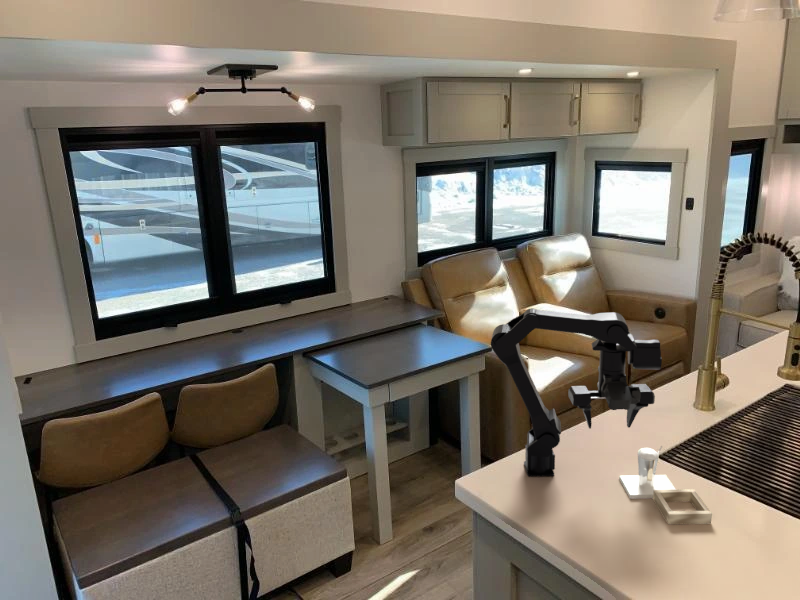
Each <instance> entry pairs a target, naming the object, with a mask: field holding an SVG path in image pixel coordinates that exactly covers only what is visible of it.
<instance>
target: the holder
mask: <svg viewBox="0 0 800 600" xmlns="http://www.w3.org/2000/svg"><path fill="white" fill-rule="evenodd" d="M652 501H653V502H654V504H655V505H656V507H657V508H658V510H659V512H660V513H661V515H662V517H663V518H664V520H665V522H666V523H667V524H668V525H699V524H701V525H703V524H704V525H705V524H706V525H707V524H708V525H709V524H711V525H712V516H713V513H712V512H711V510H710V508H708V506H707V505H706V504H705V502H704V501H703V500H702V498H701V497H700V495H699V494H698V493H697V491H696V490H695V489H694V488H691V489H689V488H688V489H685V488H684V489H683V488H681V489H679V488H678V489H676V490H654V492H653V498H652ZM677 502H679V503H682V502H690V503H691V504H692V506H693V507H694V509H695V510H683V511H682V510H676V511H674V510H672V509H671V508H670V506H669V504H668V503H677Z"/></svg>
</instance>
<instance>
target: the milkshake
mask: <svg viewBox="0 0 800 600" xmlns="http://www.w3.org/2000/svg"><path fill="white" fill-rule="evenodd" d="M662 448H663V445H661V446H660V448H659V449H658V451H656V450H655V449H653V448H651V447H641V448H640V449H639V450H638V451H637V464H638V465H637V466H638V475H639V485H640V486H641V487H644V488H651V487H653V485H654V479H655V475H656V473H657V472H656V471H657V467H658V463H659V462H658V461H659V457H660V455H659V453H660V451H661V450H662Z"/></svg>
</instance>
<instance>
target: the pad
mask: <svg viewBox="0 0 800 600" xmlns="http://www.w3.org/2000/svg"><path fill="white" fill-rule="evenodd" d="M618 478H619V479H618V480H619V481H620V483H621V485H622V487H623V489H624V490H625V492H626V494H627V495H628V498H629V499H632V500H635V499H636V500H637V499H640V500H641V499H653V492H654V490H677V488H676V487H675V486H674V484H673V483H672V481H671V480H670V479H669V477H668V476H667V474H655V479H654V485H653V487H651V488H644V487H641V486H640V485H639V474H633V475H631V474H630V475H629V474H628V475H619V477H618Z"/></svg>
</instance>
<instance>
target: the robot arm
mask: <svg viewBox="0 0 800 600" xmlns="http://www.w3.org/2000/svg"><path fill="white" fill-rule="evenodd" d="M535 329H537V330H545V331H554V332H561V333H572V334H577V335H579V334H580V335H586V336H588V337H589V336H590V337H592V338H594V339H596V340H595V341H593V342H592V343H591V348H592V350H593V351H598V352H599V365H598V366H597V367H598V368H597V371H598V382H597V384H596V386H597V387H596V388H597V390H588V388H587V386H586V385H571V386H570V387H569V388H568V398H569V400H570V402H571V404H572V405H573V406H575V407H577V408H578V409H581V410H582V412H583V415H584V418H585V422H586V424H587V427H588V429H589V430H590V429H592V405H591V403H592V400H604V399H605V400H606V403H607V407H608V409H609V410H610V411H611V410H612V411H617V410H625V411H626V410H627V411H626V426H627V428H629V429H630V428H631V426H632V424H633V423H634V420H635V419H636V417H637V415H638V413H639V412H640V411H641V410H642V409H644V408H647V407H649V405H654V404H655V399H656V398H655V397H656V396H655V393H654V392H653V390H652V389H651V388H650V387H649V386H648V385H647V384H646V383H639V384H638V383H637V384H636V383H633V384H632V383H631V384H630V385H628V382H627V375H626V359H627V363H628V365H631V367H632V368H633V369H636V370H656V371H657V370H658V371H659V370H661V369H662V363H663V358H662V351H661V342H660V340H659V339H648V340H646V339H635V338H634V336H633V333H630V331H629V327H628V324H627V321H626V319H625V318H624V317H623V315H622V314H621V313H619V312H614V311H613V312H598V313H593V314H577V313H570V312H569V313H568V312H561V311H560V312H559V311H550V310H543V309H542V310H540V309H536V308H532V307H531V308H528V309H526V310H525V311H524V312H523V313H521V314H519V315H518V316H516V317H513V318H512V319H511V320H510V321H508V322H507V323H505V324H499V325H497V326H496V327H495V328H494V329H493V332H492V334H491V339H490V348H491V349H492V351H493V352H494V354H495V355H496V357H497V358H498V360H499V361H500V362H501V363H502V364H503V365H504V366H506V368H507V369H508V373H509V374H510V376H511V378H512V380H513V382H514V384H515V387H516V388H517V390H518V393H519V395H520V397H521V400H522V401H523V404H524V405H525V408H526V410H527V412H528V413H529V417H530V421H531V426H532V428H530V429H529V430H528V431H527V436H526V437H527V439H526V441H527V442H526V444H525V455H524V456H525V458H524V459H525V460H524V461H523V464H524V465H523V466H524V468H525V471H526V475H527V476H528V477H554V476H555V473H554V470H555V469H556V468H555V466H556V465H555V464H556V455H555V452H554V450H553V449H555V448H556V447H558V445H559V444H560V442H561V437H560V435H561V434H562V426H561V420H560V419H559V417H558V416H557V414H556V410H555V408H552V409H549V408H547V407H546V406H545V405H544V402H543V399H542V397H541V395H540V394H539V391H538V390H537V387H536V385H535V383H534V381H533V378H532V376H531V374H530V371H529V369H528V368H527V365H526V363H525V361H524V359H523V357H522V353H521V348H520V342H522V341H523V340H524V339H525V338H526V337H527V336H528V335H529V334H530V333H532V331H534V330H535ZM626 355H627V356H626ZM626 357H627V358H626Z"/></svg>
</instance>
